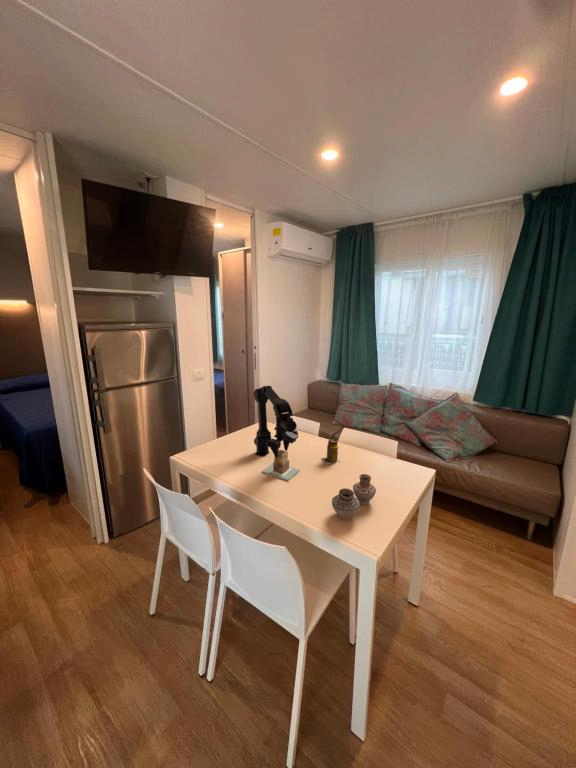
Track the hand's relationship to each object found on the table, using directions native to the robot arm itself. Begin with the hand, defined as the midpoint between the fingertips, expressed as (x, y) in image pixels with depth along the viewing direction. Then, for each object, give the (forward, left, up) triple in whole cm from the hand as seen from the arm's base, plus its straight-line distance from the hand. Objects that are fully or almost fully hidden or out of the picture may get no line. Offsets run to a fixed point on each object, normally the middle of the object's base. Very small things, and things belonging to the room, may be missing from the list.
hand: (281, 454), depth 155 cm
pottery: (+43, -9, -11) cm, 45 cm away
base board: (0, 0, -10) cm, 10 cm away
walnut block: (0, 0, -9) cm, 9 cm away
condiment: (+17, +26, -11) cm, 33 cm away
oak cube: (0, 0, -4) cm, 4 cm away
